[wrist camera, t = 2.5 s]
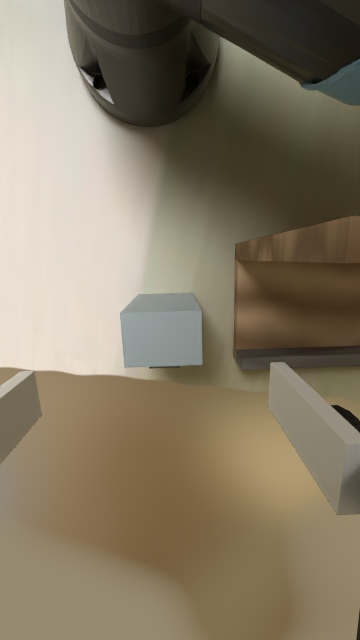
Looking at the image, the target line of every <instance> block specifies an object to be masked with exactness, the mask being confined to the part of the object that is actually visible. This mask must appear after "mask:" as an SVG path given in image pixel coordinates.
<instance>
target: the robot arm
mask: <svg viewBox="0 0 360 640" xmlns="http://www.w3.org/2000/svg"><path fill="white" fill-rule="evenodd" d="M64 5H65V15H66V26H67V34H68V40H69V44H70V48H71V52H72V55H73V58H74V61H75V63H76V66H77V68H78V70H79V72H80V74H81V76H82V78H83V80H84V82H85V84H86V86H87V88H88V89H89V91H90V92H91V94H92V95H93V97H94V98H95V99H96V100H97V102H98V103H99V104H100V105H101V106H102V107H103V108H104V109H105V110H106V111H108V112H109V113H110V114H112V115H113V116H115V117H116V118H118V119H120V120H122V121H124V122H126V123H129V124H133V125H137V126H144V127H153V126H160V125H165V124H168V123H170V122H173V121H175V120H177V119H179V118H180V117H182V116H183V115H185V114H186V113H187V112H188V111H190V110H191V109H192V108H193V107H194V106H195V105H196V103H197V102H198V101H199V100H200V98H201V97H202V95H203V94H204V92H205V90H206V88H207V86H208V84H209V82H210V79H211V77H212V74H213V70H214V66H215V61H216V57H217V52H218V46H219V37H220V36H221V37H222V38H224V39H226V40H228V41H230V42H231V43H233V44H235V45H237V46H239V47H240V48H242V49H244V50H246V51H247V52H249V53H251V54H252V55H254V56H256V57H258V58H259V59H261V60H263V61H264V62H266V63H268V64H269V65H271V66H273V67H275V68H276V69H278V70H280V71H281V72H283V73H285V74H286V75H288V76H290V77H292V78H293V79H295V80H297V81H298V82H299V83H300V85H301V87H303V88H304V89H306V90H318V91H320V92H322V93H324V94H326V95H328V96H330V97H332V98H334V99H336V100H339V101H341V102H343V103H345V104H348V105H360V0H64ZM268 407H269V409H270V410H271V412H272V413H273V415H274V417H275V418H276V420H277V421H278V423H279V424H280V426H281V428H282V429H283V431H284V432H285V434H286V435H287V437H288V439H289V440H290V442H291V443H292V445H293V446H294V448H295V449H296V451H297V452H298V454H299V456H300V457H301V459H302V460H303V462H304V464H305V465H306V467H307V468H308V470H309V471H310V473H311V475H312V476H313V478H314V479H315V481H316V482H317V484H318V486H319V487H320V489H321V490H322V492H323V493H324V495H325V497H326V498H327V500H328V501H329V503H330V505H331V506H332V507H333V509H334V511H335V512H336V514H337V515H348V514H349V515H350V514H360V421H359V419H358V418H357V417H356V416H354V415H353V414H352V413H351V412H350V411H348V410H346V409H344V408H342V407H340V406H338V405H330V404H328V403H327V402H326V401H325V400H324V399H323V398H322V397H321V396H320V395H319V394H318V393H317V392H316V391H315V390H313V389H312V388H311V387H310V386H309V385H308V384H307V383H306V382H305V381H304V380H303V379H302V378H301V377H300V376H298V375H297V374H296V373H295V372H294V371H293V370H292V369H291V368H290V367H289V366H288V365H287V364H286V363H285V362H272V363H270V382H269V401H268ZM41 416H42V413H41V407H40V401H39V396H38V390H37V384H36V377H35V371H21V372H19V373H18V374H16V375H15V376H14V377H12V378H11V379H10V380H8V381H7V382H5V383H4V384H3V385H1V386H0V464H1V463H2V461H3V460H4V459H5V458H6V457H7V456H8V455H9V453H10V452H11V451H12V450H13V449H14V448H15V446H16V445H17V444H18V443H19V442H20V441H21V439H22V438H23V437H24V436H25V435H26V434H27V432H28V431H29V430H30V429H31V427H32V426H33V425H34V424H35V423H36V422H37V420H38V419H39V418H40V417H41ZM357 640H360V612H359V621H358V630H357Z"/></svg>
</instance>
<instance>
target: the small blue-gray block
mask: <svg viewBox="0 0 360 640" xmlns="http://www.w3.org/2000/svg"><path fill="white" fill-rule="evenodd" d="M120 318H121V330H122V342H123V354H124V366H125V368H127V367H149V369H150V368H179V367H180V366H186V365H202V310H201V308H200V306H199V304H198V302H197V300H196V298H195V296H194V295H193V293H168V294H139V295H138V296H137V297H136V298H135V299H134V300H133V301H132V302H131V303H130V304H129V305H128V306H127V307H126V308H125V309H124V310H123V311H122V312H121V313H120Z"/></svg>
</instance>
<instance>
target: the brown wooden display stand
mask: <svg viewBox="0 0 360 640" xmlns="http://www.w3.org/2000/svg"><path fill="white" fill-rule="evenodd" d="M233 357H234V358H235V360H236V362H237V363H238V365H239V367H240V368H241V370H249V369H270V363H272V362H285V363H286V364H287V365H288V366H289V367H290V368H306V367H335V366H360V216H349V217H345V218H341V219H337V220H332V221H328V222H324V223H320V224H316V225H312V226H307V227H303V228H299V229H295V230H291V231H287V232H282V233H278V234H274V235H270V236H266V237H262V238H257V239H253V240H249V241H245V242H241V243H237V244H236V248H235V298H234V349H233Z"/></svg>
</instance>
